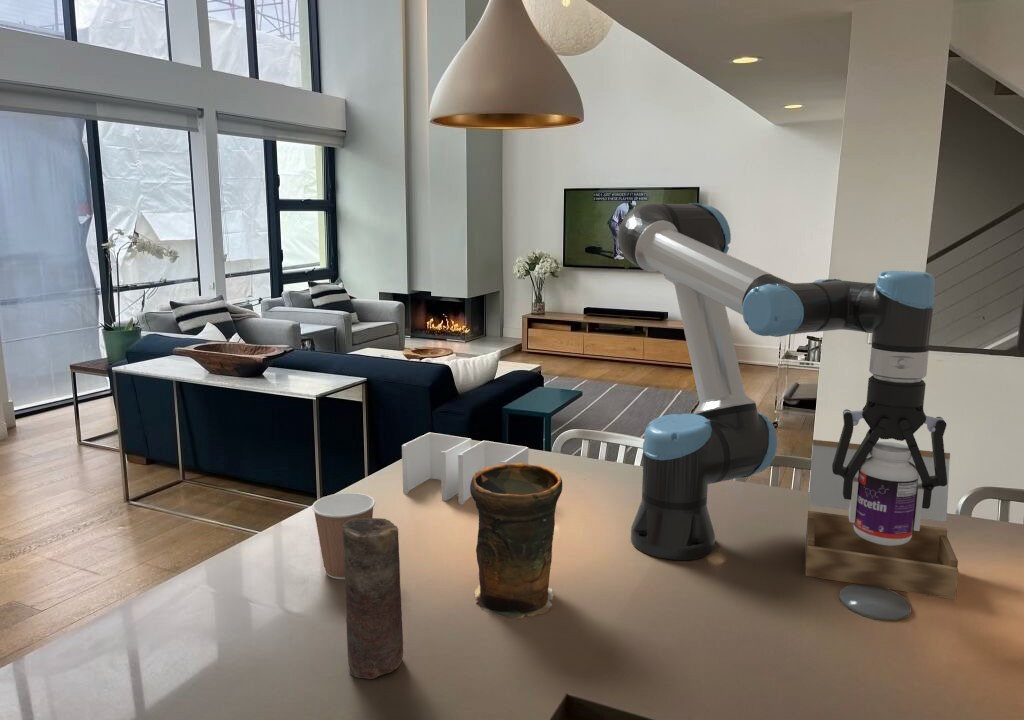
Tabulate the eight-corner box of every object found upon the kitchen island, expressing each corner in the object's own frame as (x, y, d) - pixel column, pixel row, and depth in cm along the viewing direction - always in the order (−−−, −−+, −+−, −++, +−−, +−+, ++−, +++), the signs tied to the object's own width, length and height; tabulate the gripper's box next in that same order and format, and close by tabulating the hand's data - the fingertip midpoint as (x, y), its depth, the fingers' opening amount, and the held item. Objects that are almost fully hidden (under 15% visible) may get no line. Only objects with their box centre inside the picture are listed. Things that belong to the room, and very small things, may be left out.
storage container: (528, 495, 162) (528, 447, 160) (505, 513, 152) (505, 462, 150) (430, 478, 173) (429, 432, 171) (403, 493, 163) (401, 445, 161)
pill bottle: (841, 530, 117) (848, 441, 114) (882, 523, 119) (890, 436, 117) (881, 551, 109) (890, 457, 107) (924, 544, 112) (933, 451, 109)
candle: (352, 649, 104) (346, 513, 100) (405, 647, 105) (401, 512, 101) (344, 683, 96) (338, 537, 93) (401, 680, 97) (397, 535, 93)
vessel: (572, 581, 123) (573, 466, 119) (547, 627, 110) (547, 499, 106) (490, 568, 128) (488, 457, 124) (457, 611, 115) (454, 488, 111)
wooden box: (805, 575, 126) (808, 536, 124) (805, 546, 137) (808, 510, 135) (954, 599, 118) (960, 557, 117) (941, 566, 129) (946, 528, 128)
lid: (813, 439, 137) (812, 439, 138) (808, 504, 136) (808, 504, 136) (950, 453, 129) (949, 453, 130) (946, 522, 128) (945, 521, 129)
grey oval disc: (840, 612, 114) (841, 609, 114) (838, 583, 123) (838, 580, 123) (914, 625, 110) (915, 621, 110) (906, 594, 119) (906, 590, 119)
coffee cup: (389, 563, 130) (387, 498, 128) (352, 589, 121) (350, 519, 118) (340, 552, 134) (338, 488, 132) (302, 577, 125) (298, 509, 123)
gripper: (820, 376, 110) (809, 522, 114) (984, 388, 103) (966, 543, 107) (819, 367, 117) (809, 505, 121) (973, 377, 110) (956, 523, 114)
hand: (883, 523), depth 114 cm, fingers closed on pill bottle, 8 cm apart
